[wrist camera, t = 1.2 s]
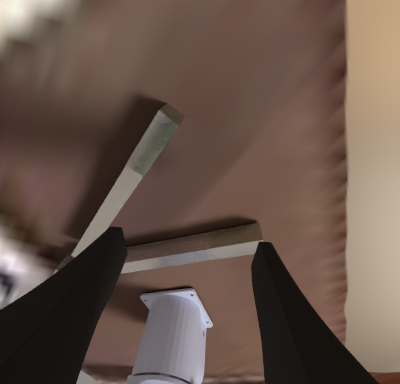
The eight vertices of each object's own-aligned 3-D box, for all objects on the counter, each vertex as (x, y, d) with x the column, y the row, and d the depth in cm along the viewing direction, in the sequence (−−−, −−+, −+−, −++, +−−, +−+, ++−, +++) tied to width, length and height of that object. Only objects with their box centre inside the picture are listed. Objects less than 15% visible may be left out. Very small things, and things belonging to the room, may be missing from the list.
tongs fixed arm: (96, 275, 28) (84, 297, 25) (64, 260, 27) (48, 281, 24) (208, 135, 17) (205, 148, 14) (161, 99, 16) (150, 106, 13)
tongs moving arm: (92, 263, 26) (81, 279, 24) (79, 247, 25) (66, 264, 23) (261, 234, 21) (265, 252, 19) (256, 213, 20) (260, 230, 18)
